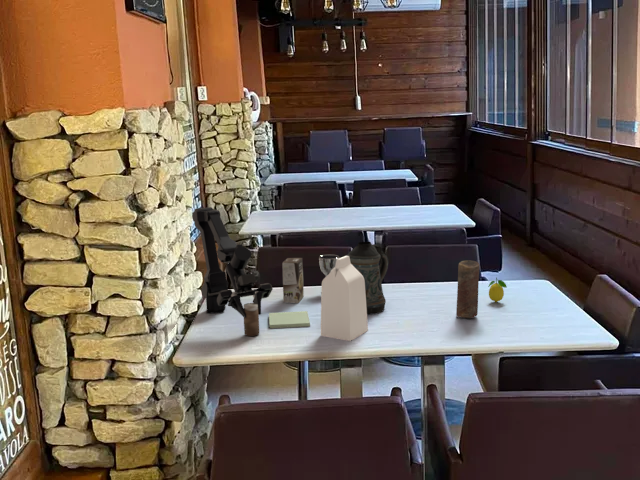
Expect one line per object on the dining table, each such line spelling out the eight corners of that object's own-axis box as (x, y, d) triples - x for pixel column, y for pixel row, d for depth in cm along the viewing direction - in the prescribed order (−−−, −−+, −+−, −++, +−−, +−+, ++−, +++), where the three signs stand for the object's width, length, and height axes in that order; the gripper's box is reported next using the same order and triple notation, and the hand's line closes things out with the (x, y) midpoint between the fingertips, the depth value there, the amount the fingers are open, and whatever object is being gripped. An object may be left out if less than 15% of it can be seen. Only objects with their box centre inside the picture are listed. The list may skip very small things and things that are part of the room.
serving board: (269, 328, 247) (269, 324, 247) (269, 316, 261) (268, 313, 260) (310, 326, 248) (309, 322, 248) (307, 314, 262) (307, 311, 261)
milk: (350, 341, 232) (349, 263, 227) (320, 335, 238) (318, 259, 233) (368, 330, 242) (367, 255, 237) (338, 325, 248) (337, 252, 243)
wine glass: (319, 290, 293) (318, 254, 290) (338, 289, 294) (337, 254, 291) (320, 295, 286) (319, 259, 283) (340, 294, 286) (339, 258, 283)
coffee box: (299, 303, 276) (297, 262, 273) (283, 302, 277) (281, 262, 274) (304, 296, 285) (303, 257, 281) (288, 296, 286) (287, 257, 283)
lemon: (506, 305, 267) (507, 279, 265) (490, 305, 267) (491, 279, 265) (502, 300, 273) (502, 274, 271) (486, 300, 274) (487, 275, 272)
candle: (480, 315, 255) (481, 261, 251) (475, 321, 248) (476, 265, 244) (459, 313, 258) (459, 259, 254) (453, 319, 252) (454, 264, 248)
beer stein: (335, 313, 263) (333, 246, 258) (352, 298, 280) (351, 236, 275) (378, 317, 256) (377, 249, 251) (393, 302, 274) (393, 238, 269)
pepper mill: (244, 336, 238) (243, 307, 236) (244, 331, 243) (243, 303, 241) (259, 335, 238) (258, 306, 236) (259, 330, 243) (258, 302, 241)
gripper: (218, 267, 235) (232, 308, 227) (269, 260, 244) (285, 298, 236) (210, 285, 243) (224, 325, 236) (260, 277, 252) (275, 315, 245)
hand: (252, 315), depth 238 cm, fingers closed on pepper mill, 5 cm apart
